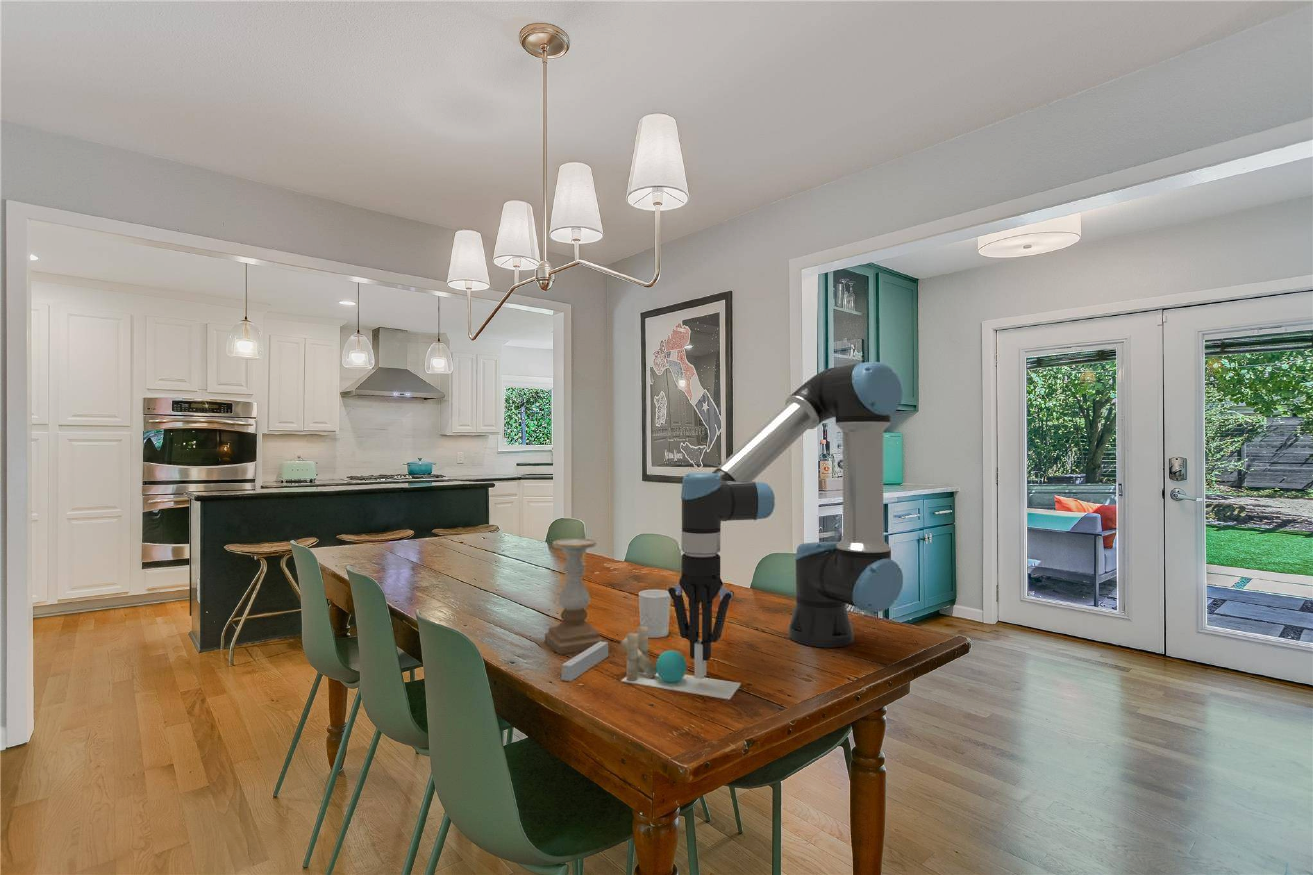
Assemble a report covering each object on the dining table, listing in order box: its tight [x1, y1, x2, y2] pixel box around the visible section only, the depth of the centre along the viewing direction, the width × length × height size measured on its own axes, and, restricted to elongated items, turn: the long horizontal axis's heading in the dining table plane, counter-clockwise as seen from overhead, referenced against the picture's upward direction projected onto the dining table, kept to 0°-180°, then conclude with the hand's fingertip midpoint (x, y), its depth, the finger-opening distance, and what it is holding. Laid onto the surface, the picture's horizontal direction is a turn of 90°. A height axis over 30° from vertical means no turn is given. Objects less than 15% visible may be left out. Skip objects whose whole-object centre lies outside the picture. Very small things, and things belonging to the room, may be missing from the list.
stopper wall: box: [561, 641, 609, 682], centre depth 129 cm, size 2×16×3 cm, turn 157°
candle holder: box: [544, 538, 605, 656], centre depth 144 cm, size 11×11×24 cm
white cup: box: [638, 589, 672, 639], centre depth 153 cm, size 8×8×10 cm
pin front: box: [619, 636, 657, 678], centre depth 125 cm, size 2×2×9 cm
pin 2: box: [636, 625, 649, 673], centre depth 127 cm, size 2×2×9 cm
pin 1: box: [626, 632, 638, 681], centre depth 122 cm, size 2×2×9 cm
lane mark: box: [620, 672, 742, 700], centre depth 121 cm, size 22×8×1 cm, turn 67°
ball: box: [655, 649, 688, 683], centre depth 122 cm, size 6×6×6 cm
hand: (700, 676), depth 119 cm, fingers closed
